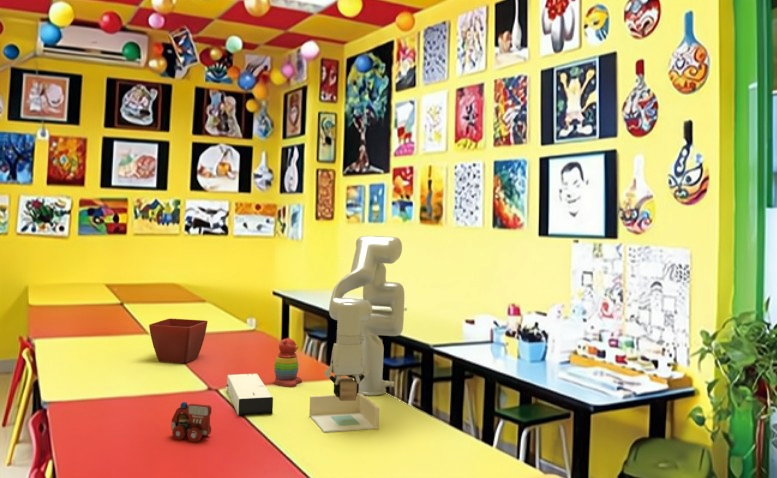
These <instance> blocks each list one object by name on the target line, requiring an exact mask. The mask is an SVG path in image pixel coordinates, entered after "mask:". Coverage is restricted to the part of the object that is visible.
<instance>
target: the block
mask: <svg viewBox="0 0 777 478" xmlns="http://www.w3.org/2000/svg"><path fill="white" fill-rule="evenodd" d="M339 385H340V396H339V397H338V398H339V399H340V401H356V392H357V383H356V382H355V381H354V378H352V377H341V378H340V381H339Z"/></svg>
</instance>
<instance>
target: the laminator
mask: <svg viewBox="0 0 777 478" xmlns="http://www.w3.org/2000/svg"><path fill="white" fill-rule="evenodd" d="M226 377H227V379H226V380H227V381H226V386H225V389H226V391H227V394H228V396H229V398H230V400H231V403H232V404H233V405H232V406H233V407H234V409H235V411H236V414H237V416H238V417H239V416H240V417H241V416H243V417H244V416H258V415H260V416H261V415H273V412H274V408H273V407H274V397H273V396H272V394H271V393H270V392H269V390H268V388H267V386H266V385H265V384H264V382H263V381H262V379H261V377H260V376H259V375H258V373H239V374H227V376H226Z"/></svg>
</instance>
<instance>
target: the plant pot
mask: <svg viewBox="0 0 777 478" xmlns="http://www.w3.org/2000/svg"><path fill="white" fill-rule="evenodd" d="M207 327H208V320H203V319H185V318H166V319H162V320H159V321H156V322H154V323H149V325H148V328H149V335H150V338H151V342H152V346H153V349H154V353H155V355H156V358H157V360H158V362H160V363H173V364H187V363H189V362H191V361H193V360H195V359H198V358H199V355H200V352H201V349H202V347H203V343H204V340H205V337H206V332H207Z"/></svg>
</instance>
